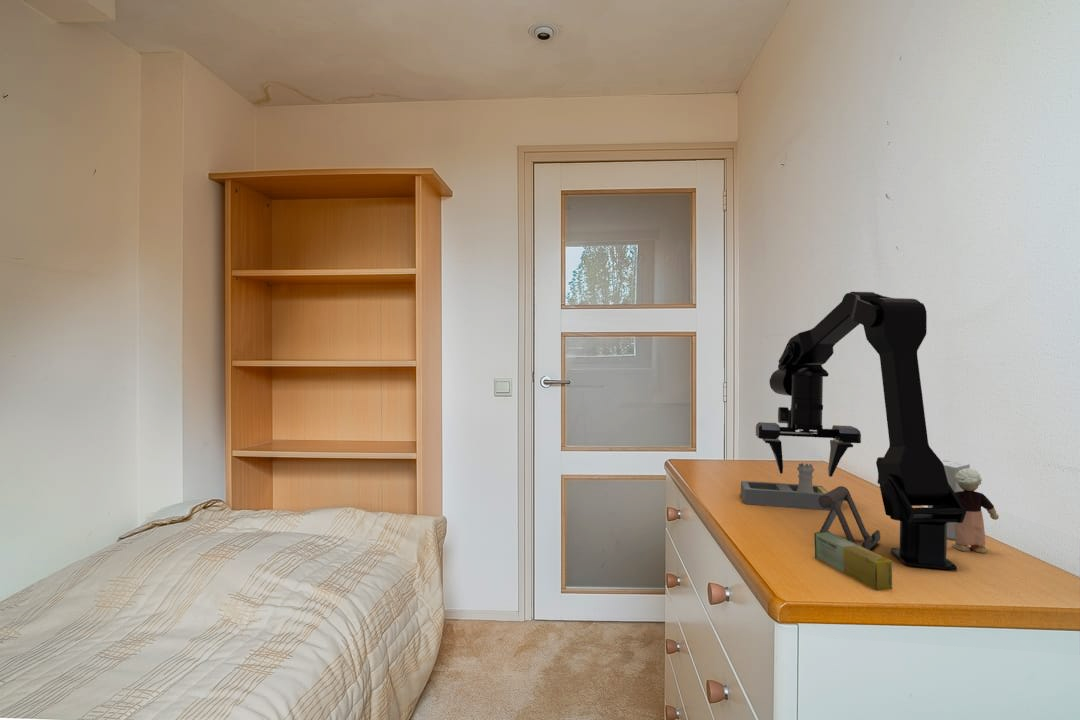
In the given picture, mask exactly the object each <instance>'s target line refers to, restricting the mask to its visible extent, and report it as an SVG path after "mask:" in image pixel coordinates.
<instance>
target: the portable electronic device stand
mask: <svg viewBox="0 0 1080 720" xmlns="http://www.w3.org/2000/svg"><path fill="white" fill-rule="evenodd" d="M818 502H819V504H820V506H821V507H822V508H825V509H830V510H829V513H828V514H827V517H826V518H825V520H824V523H823V525H822V526H821V529H820V530H819V532H824V531H829V530H830V529H831V526H832V524H833V522H834V520H836V519H835V518H838V520H839V523H840V525H841V528H842V530H843V533H844V536H845V537H846V540H848V541H850V542H853V543H855V544H857V545H859V546H861V547H863V548H866V549H868V550H870V551H871V549H872V548H873V547H874V546H875V545H877V544H878V543H879V542H880V541H881V533H880V530H879V529H877V530H876V531H874V532H873V533H872V534H871V535H870V534H869V532H868V531H867V529H866V527H865V524H864V523H863V520H862V517H861V515H860V512H858V511H859V510H858V509H857V507H856V503H855V501H854V499H853V498H852V495H851V493H850V490H849V489H848V488H847V487H845V486H837V487H835V488H833V489H831V490H830V491H828V493H826V494H824V495H822V496H820V497H819V500H818ZM844 502H847V504H848V506H849V508H850V511H851V513H852V516H853V518H854V520H855V523H856V524H857V527H858V529H859V532H860V534H861V536H862V538H863V540H862V541H861V542H860V543H859V544H858V543H857V541H856V540H855V538H854V536H853V534H852V531H851V529H850V527H849V525H848V522H847V520H846V518H845V514H844V513H843V511H842V510H843V509H841V507H842V506H843V503H844Z"/></svg>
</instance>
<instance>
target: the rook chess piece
mask: <svg viewBox="0 0 1080 720" xmlns="http://www.w3.org/2000/svg"><path fill="white" fill-rule="evenodd" d="M796 470H797V471H798V476H797V478H798V483H797V484H798V488H797V490H796V491H798V492H813V493H815V492H814V491H813V486H812V485H813V479H814V476H813V473H814V472H815V468H814V466H813V464H811V463H805V465H804V463H798V466H797V468H796Z"/></svg>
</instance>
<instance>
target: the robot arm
mask: <svg viewBox="0 0 1080 720" xmlns="http://www.w3.org/2000/svg"><path fill="white" fill-rule="evenodd" d="M859 325H861V326H863V329H864V334H865V337H866V341H867V342H868V343H869V344H870V346H871V347H873V349H874V351H876V353H877V354H878V356H879V361H880V371H881V380H882V388H883V395H884V396H883V397H884V408H885V414H886V424H887V432H888V433H887V434H888V440H889V447H888V449H887V451H886V453H885V454H884V456H882V457H881V456H879V457H877V458H876V462H875V464H876V469H877V482H876V483H877V485H879V489H880V495H881V498H882V504H883V508H884V512H885V513H884V514H885V515H886V516H888V517H889V518H890V519H891V520H893V521H899V547H890V552H891V553H892V554H893V555H894V556H895V557H896V558H897V559H898V560H900V562H902V563H903V564H904V565H906V566H909V567H910V566H911V567H920V568H932V569H942V570H952V571H957V570H958V566H957V565H956V564H955V563H954V562H952V561H951V560H949V559H948V558H947V549H948V548H947V546H948V545H947V544H948V542H947V541H948V538H947V522H957V523H963V520H964V517H965V515H966V509H965V508H964V506H963V505H962V503H961V502H960V500H959V499H958V497H957V495H956V494H955V492H954V491H953V489H952V488H951V486H950V485H949V483H948V480H947V476H946V472H945V468H944V465H943V463H942V462H941V461H942V460H941V459H940V458H939V456H938V455H937V454H936V453H935V452H934V449H932V448H931V446H930V444H929V439H928V438H929V437H928V429H927V421H926V415H925V414H926V413H925V407H924V406H925V405H924V399H923V391H922V389H923V388H922V382H921V375H920V366H919V359H918V350H919V348H920V347H921V345H922V343H923V341H924V340H925V338H926V336H927V334H928V333H927V325H928V324H927V309H926V306H925V304H924V303H923V302H921V301H919V300H918V299H916V298H905V297H904V298H903V297H902V298H901V297H900V298H899V297H898V298H896V297H890V296H885V295H882V294H879V293H875V292H874V291H850V292H848V293H845V294H844V296H843V297H842V300H841V302H840V303H838V305H836V306H835V307H834V308H833V309H832V310H831V311H829V313H828V314H827V315H826V316H825V317H823V318H822V319H821V320H820V321H819V322H818V323H817V324H816V325H815V326H814V327H813V328H811V329H808V330H805V331H801V332H798V333H797V334H795V335H793V336H792V337H790V339H789V340H788V342H787V343H786V345H785V347H784V350H783V352H782V354H781V356H780V358H779V359H778V365H777V369H776V370H775V371H774V372H772V374H771V376H770V377H769V387H770V388H771V390H772V391H773V392H774V393H776V394H778V395H782V396H789V397H791V399H790V401H791V402H790V403H791V404H790V409H789V407H788V406H787V407H786V406H783V407H782V406H779V407H778V409H777V410H778V411H777V423H776V422H764V421H763V422H762V421H761V422H759V421H758V422H757V424H756V425H755V436H756V437H757V438H758V439H762V441H763V442H764V443H765V444H769V447H770V448H771V451H772V453H773V456H774V458H775V462H776V465H777V469H778V471H779V474H783V472H784V463H783V460H784V459H783V447H782V445H783V444H782V441H781V440H780V439H779V438H780V437H798V438H799V437H802V438H803V437H804V438H819V439H820V438H823V439H825V438H826V439H830V440H829V445H830V450H829V451H830V452H829V458H828V459H829V461H828V467H827V468H828V470H827V473H828V477H829V478H832V477H833V475H834V473H835V470H836V469H837V467H838V465H839V463H840V462H841V459H842V458H843V456H844V455H845V453H846V451H847V450H848V448H854V444H861V443H862V434H861V433H862V432H861V431H860V430H859V429H858V428H857V427H855V426H852V425H837V424H836V425H835V424H834V425H832V427H831V428H823V426H824V425H823V411H824V410H823V409H824V405H823V391H824V387H823V386H824V384H823V383H824V377H829V372H828V371H827V370H826V369H825V368H824V367H823V365H825V364H826V363H827V362H828V361H829V360H830V358H831V357H832V356H833V355H834V346H835V345H836V344H837V343H839V342H840V341H841V340H842V339H843V338H845V337H846V336H847V335H849V333H851V331H853V330H854V329H855V328H856V327H858V326H859ZM778 423H779V424H787V426H780V425H779V424H778ZM798 430H799V431H798ZM918 506H919V507H918ZM925 506H927V507H925ZM928 506H933V508H928Z"/></svg>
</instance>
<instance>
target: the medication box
mask: <svg viewBox="0 0 1080 720" xmlns="http://www.w3.org/2000/svg"><path fill="white" fill-rule="evenodd" d="M813 534H814V558H816V559H817V560H820V561H822V562H824V563H825V564H827V565H829V566H830V567H832V568H834V569H836V570H837V571H840V572H842V573H844V574H846V575H848V576H849V577H851V578H853V579H855V580H856V581H859V582H861V583H863V584H864V585H866V586H868V587H870V588H872V589H874V590H876V591H884V590H892V589H893V561H892V560H891V559H889V558H887V557H885V556H883V555H880V554H879V553H876V552H874V551H872V550H871V549H870V550H868V549H866V548H863V547H861V546H859V544H858V543H857V544H858V545H857V544H855V543H853V542H850V541H848V540H847V538H844V537H842V536H840V535H837V534H834V533H833V532H831V531H829V530H828V531H824V532H820V531H817V532H814V533H813Z"/></svg>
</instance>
